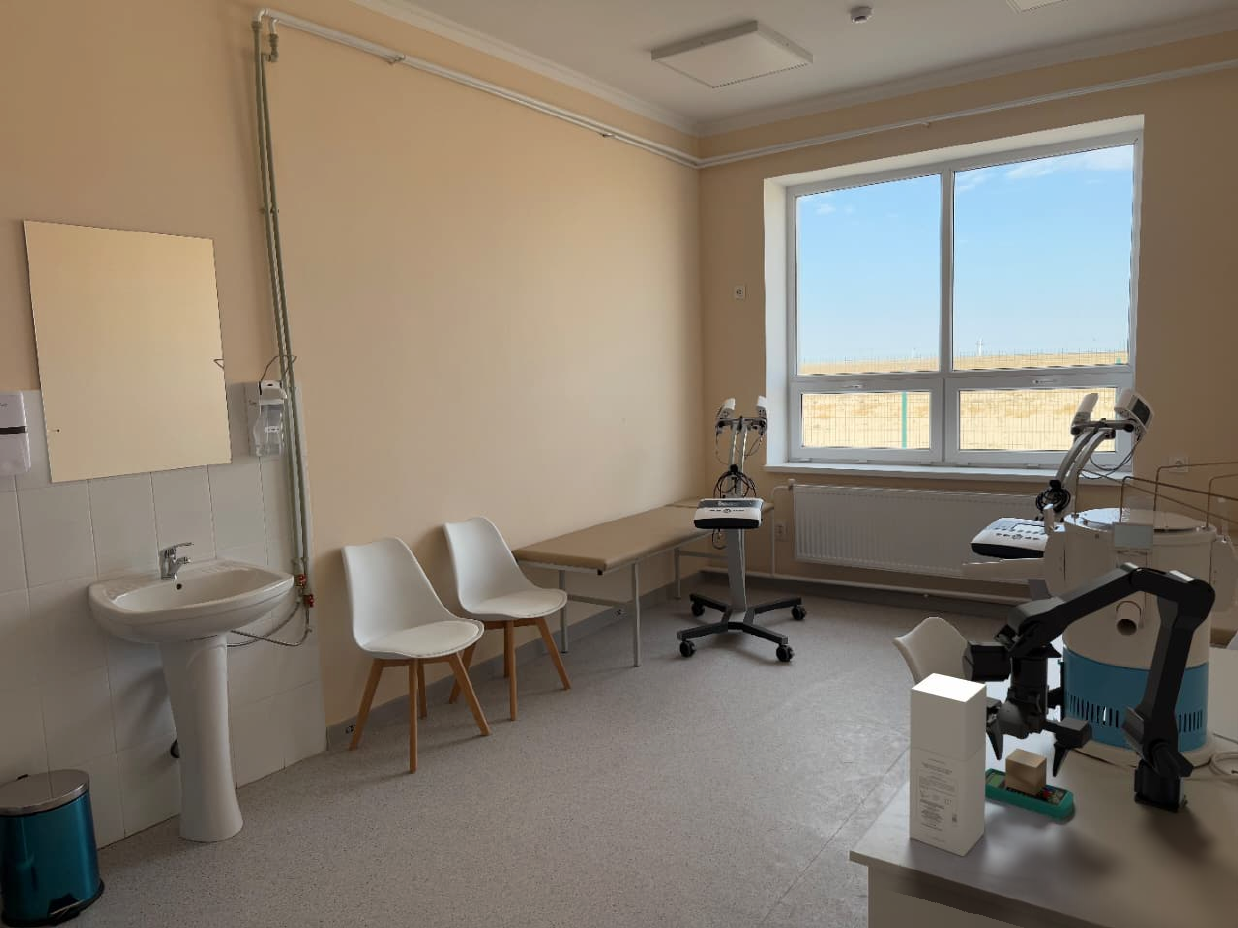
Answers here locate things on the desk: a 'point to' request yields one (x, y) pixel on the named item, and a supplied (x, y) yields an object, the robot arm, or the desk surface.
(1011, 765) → the walnut cube
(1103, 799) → the desk surface
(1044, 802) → the digital multimeter
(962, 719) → the tall white carton
